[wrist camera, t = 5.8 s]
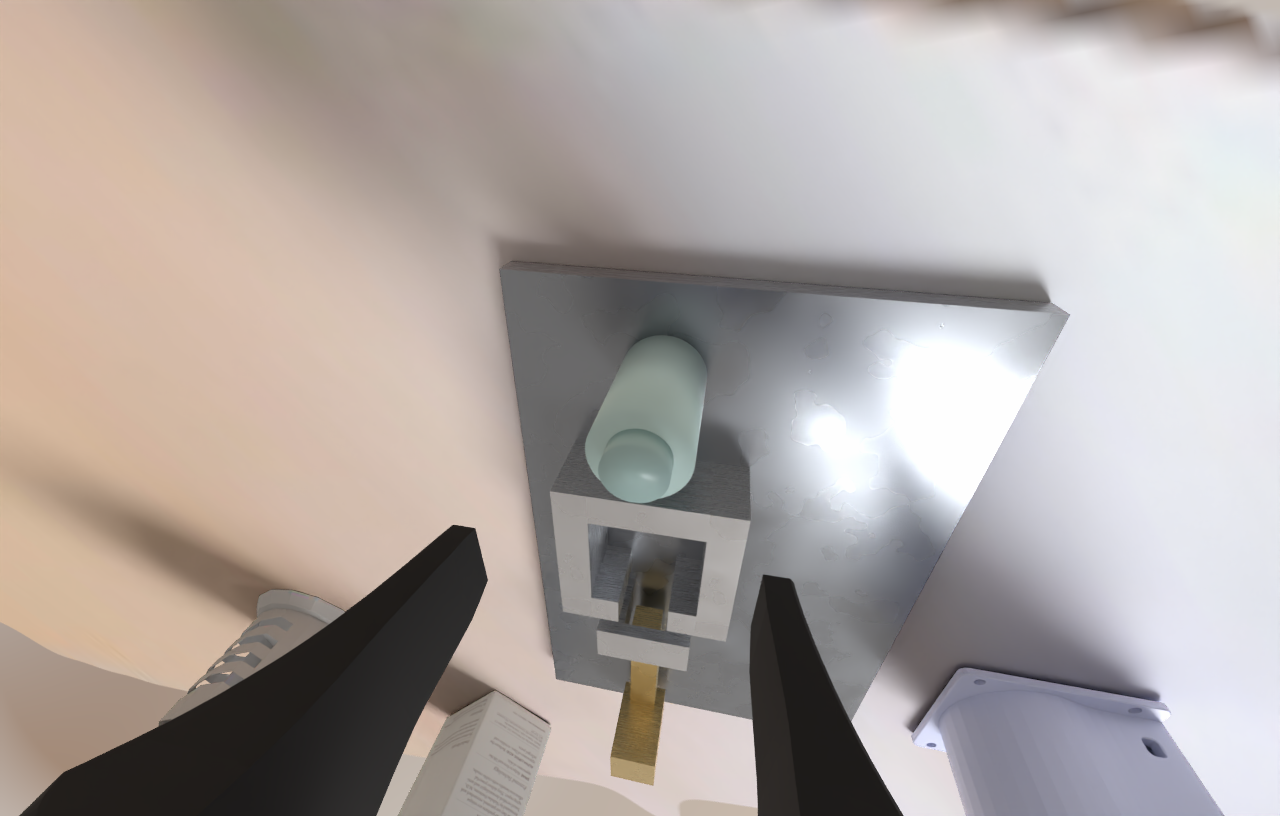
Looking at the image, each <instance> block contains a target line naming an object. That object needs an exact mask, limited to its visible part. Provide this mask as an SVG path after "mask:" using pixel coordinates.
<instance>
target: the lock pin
mask: <svg viewBox="0 0 1280 816" xmlns="http://www.w3.org/2000/svg"><path fill="white" fill-rule="evenodd" d="M662 620H663V610H662V609H656V608H651V607H645V606H639V605H636V609H635V614H634V618H633V623H632V625H635V626H641V627H646V628H651V629H657V630H662ZM658 672H659V666H656V665H651V664H646V663H641V662H636V661H631V682H627V681H626V684H625V689H624V694H623V699H622V703H621V708H620V713H619V718H618V723H617V728H616V732H615V737H614V742H613V747H612V752H611V776H614V777H619V778H623V779H627V780H631V781H636V782H640V783H644V784H649V785H653V784H654V777H655V769H656V762H657V755H658V747H659V740H660V732H661V725H662V718H663V710H664V700H665V690H666V689H661V688H657V684H658Z"/></svg>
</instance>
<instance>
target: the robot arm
mask: <svg viewBox="0 0 1280 816" xmlns="http://www.w3.org/2000/svg"><path fill="white" fill-rule="evenodd" d="M487 581H488V579H487V575H486V571H485V566H484V562H483V558H482V554H481V550H480V546H479V542H478V538H477V533H476V529H475V528H470V527H464V526H458V525H452V526H451V527H450V528H449V529H447V530H446V531H445V532H444V533H442V534H441V535H440V536H439V537H438V538H436V539H435V540H434V541H433V542H432V543H431V544H429V545H428V546H427V547H426V548H425V549H423V550H422V551H421V552H420V553H419V554H417V555H416V556H415V557H414V558H413V559H412V560H410V561H409V562H408V563H407V564H406V565H404V566H403V567H402V568H401V569H399V570H398V571H397V572H396V573H395V574H393V575H392V576H391V577H390V578H388V579H387V580H386V581H385V582H383V583H382V584H381V585H380V586H379V587H377V588H376V589H375V590H374V591H372V592H371V593H370V594H368V595H367V596H366V597H365V598H363V599H362V600H361V601H359V602H358V603H357V604H355V605H354V606H353V607H351V608H350V609H349V610H347V611H346V612H345V613H343V614H342V615H341V616H339V617H338V618H337V619H335V620H334V621H333V622H331V623H330V624H329V625H327V626H326V627H324V628H323V629H321V630H320V631H319V632H317V633H316V634H314V635H313V636H311V637H310V638H309V639H307V640H306V641H304V642H303V643H301V644H300V645H298V646H297V647H295V648H294V649H292V650H291V651H289V652H288V653H286V654H285V655H283V656H281V657H280V658H278V659H277V660H275V661H273V662H272V663H270V664H269V665H267V666H265V667H264V668H262V669H260V670H259V671H257V672H255V673H254V674H252V675H250V676H249V677H247V678H245V679H244V680H242V681H240V682H239V683H237V684H235V685H234V686H232V687H230V688H229V689H227V690H225V691H224V692H222V693H220V694H218V695H217V696H215V697H213V698H211V699H209V700H208V701H206V702H204V703H202V704H200V705H198V706H197V707H195V708H193V709H191V710H189V711H187V712H186V713H184V714H182V715H180V716H178V717H176V718H174V719H172V720H170V721H168V722H166V723H165V724H163V725H161V726H159V727H157V728H155V729H153V730H151V731H149V732H147V733H145V734H143V735H141V736H139V737H137V738H135V739H133V740H131V741H129V742H127V743H125V744H122V745H120V746H118V747H116V748H114V749H112V750H110V751H108V752H106V753H104V754H102V755H100V756H97V757H95V758H93V759H91V760H89V761H87V762H85V763H83V764H81V765H79V766H76V767H74V768H72V769H70V770H68V771H65V772H64V773H63V774H61V775H60V776H59V777H58V778H57V779H56V780H55V781H54V782H53V783H52V784H51V785H50V786H49V787H48V788H47V789H46V790H45V791H44V792H43V793H42V794H41V795H40V796H39V797H38V798H37V799H36V800H35V801H34V802H33V803H32V804H31V805H30V806H29V807H28V808H27V809H26V810H25V811H24V812H23V813H22V814H21V815H20V816H376V815H377V813H378V810H379V808H380V805H381V803H382V801H383V798H384V796H385V793H386V791H387V789H388V786H389V784H390V781H391V779H392V776H393V774H394V772H395V769H396V767H397V765H398V762H399V760H400V758H401V756H402V754H403V751H404V749H405V747H406V745H407V742H408V740H409V738H410V736H411V733H412V731H413V729H414V727H415V725H416V723H417V721H418V719H419V717H420V715H421V713H422V711H423V709H424V707H425V705H426V703H427V701H428V700H429V698H430V696H431V694H432V692H433V690H434V689H435V687H436V685H437V683H438V681H439V680H440V678H441V676H442V674H443V672H444V670H445V669H446V667H447V665H448V663H449V661H450V659H451V658H452V656H453V654H454V652H455V650H456V649H457V647H458V645H459V643H460V641H461V639H462V637H463V636H464V634H465V632H466V630H467V628H468V626H469V624H470V622H471V621H472V618H473V616H474V614H475V611H476V609H477V606H478V604H479V602H480V599H481V597H482V594H483V591H484V589H485V586H486V584H487ZM749 674H750V689H751V704H752V718H753V732H754V746H755V760H756V774H757V795H758V816H903V814H902V812H901V811H900V809H899V807H898V806H897V804H896V802H895V801H894V799H893V797H892V796H891V794H890V792H889V791H888V789H887V787H886V785H885V784H884V782H883V780H882V778H881V777H880V775H879V773H878V771H877V770H876V768H875V766H874V764H873V762H872V761H871V759H870V757H869V755H868V753H867V751H866V750H865V748H864V746H863V744H862V742H861V740H860V738H859V736H858V734H857V733H856V731H855V729H854V727H853V725H852V723H851V721H850V719H849V717H848V715H847V713H846V711H845V709H844V707H843V705H842V703H841V700H840V698H839V696H838V694H837V692H836V690H835V688H834V686H833V683H832V681H831V679H830V677H829V674H828V672H827V670H826V668H825V665H824V663H823V661H822V658H821V656H820V654H819V651H818V649H817V647H816V644H815V642H814V639H813V637H812V634H811V632H810V629H809V626H808V624H807V621H806V618H805V616H804V613H803V610H802V607H801V604H800V601H799V598H798V595H797V592H796V588H795V585H794V582H793V581H792V580H791V579H790V578H783V577H777V576H771V575H765V574H763V577H762V581H761V585H760V589H759V594H758V598H757V602H756V606H755V610H754V614H753V619H752V623H751V630H750V666H749ZM1170 715H1171V712H1170V711H1169V709H1168V708H1167V706H1166V705H1165V704H1163V703H1161V702H1157V701H1151V700H1145V699H1140V698H1134V697H1129V696H1123V695H1118V694H1112V693H1107V692H1101V691H1095V690H1090V689H1084V688H1079V687H1073V686H1068V685H1062V684H1057V683H1051V682H1045V681H1040V680H1034V679H1029V678H1023V677H1018V676H1012V675H1007V674H1001V673H995V672H990V671H984V670H979V669H973V668H961V669H959V670H957V671H956V673H955V674H954V675H953V677H952V678H951V680H950V681H949V683H948V684H947V685H946V687H945V688H944V690H943V691H942V693H941V694H940V695H939V697H938V698H937V700H936V701H935V703H934V704H933V705H932V707H931V708H930V710H929V711H928V712H927V714H926V715H925V717H924V718H923V720H922V721H921V722H920V724H919V725H918V727H917V728H916V730H915V731H914V732H913V734H912V736H911V737H912V741H913V743H914V744H915V745H917V746H919V747H924V748H929V749H934V750H939V751H943V752H947V755H948V759H949V762H950V765H951V768H952V772H953V775H954V778H955V781H956V785H957V788H958V791H959V794H960V798H961V801H962V804H963V807H964V810H965V814H966V816H1224V815H1223V813H1222V812H1221V810H1220V809H1219V807H1218V806H1217V804H1216V803H1215V801H1214V800H1213V798H1212V797H1211V795H1210V794H1209V792H1208V791H1207V789H1206V788H1205V786H1204V785H1203V783H1202V782H1201V780H1200V779H1199V777H1198V776H1197V774H1196V773H1195V771H1194V770H1193V768H1192V767H1191V765H1190V764H1189V762H1188V761H1187V759H1186V758H1185V756H1184V755H1183V754H1182V752H1181V751H1180V749H1179V748H1178V746H1177V745H1176V743H1175V742H1174V740H1173V739H1172V737H1171V736H1170V734H1169V733H1168V731H1167V730H1166V728H1165V727H1164V725H1163V724H1162V722H1163V721H1164V720H1166V719H1167V718H1168V717H1169V716H1170Z"/></svg>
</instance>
